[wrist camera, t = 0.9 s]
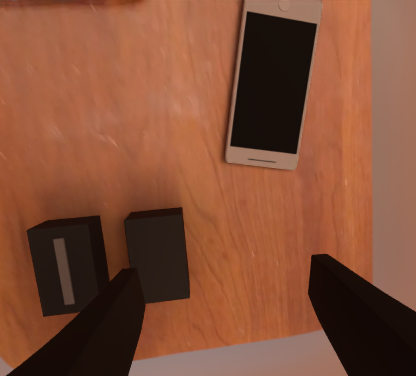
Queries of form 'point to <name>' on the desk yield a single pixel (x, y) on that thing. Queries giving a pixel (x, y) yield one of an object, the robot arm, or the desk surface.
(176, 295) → the pad
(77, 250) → the pad
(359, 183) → the desk surface
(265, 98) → the smartphone
